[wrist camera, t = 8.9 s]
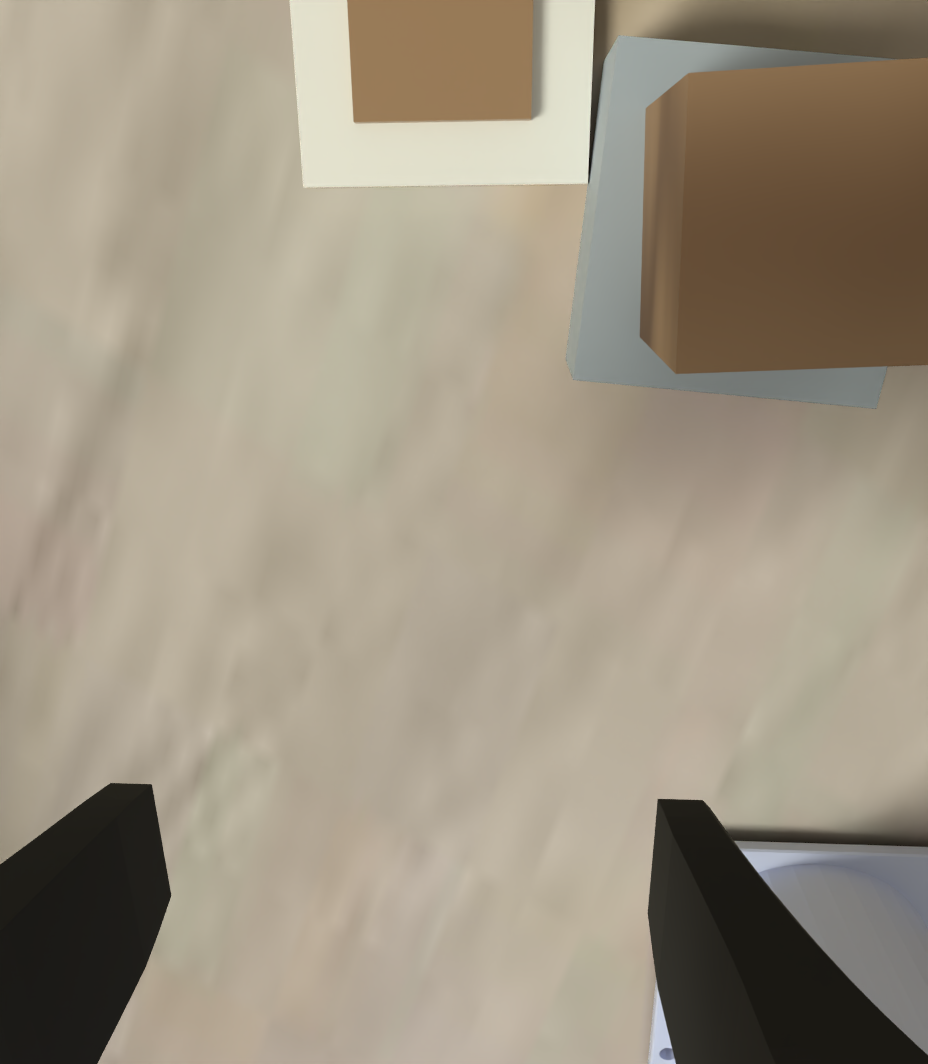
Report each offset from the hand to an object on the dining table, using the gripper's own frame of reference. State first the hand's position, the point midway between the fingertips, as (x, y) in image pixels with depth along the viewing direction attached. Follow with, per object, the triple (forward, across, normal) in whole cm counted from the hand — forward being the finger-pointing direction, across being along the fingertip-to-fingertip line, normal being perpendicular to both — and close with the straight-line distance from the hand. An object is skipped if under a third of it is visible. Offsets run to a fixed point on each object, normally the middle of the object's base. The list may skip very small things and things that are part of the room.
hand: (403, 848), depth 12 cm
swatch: (+10, 0, -12) cm, 16 cm away
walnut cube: (+7, -6, -8) cm, 12 cm away
